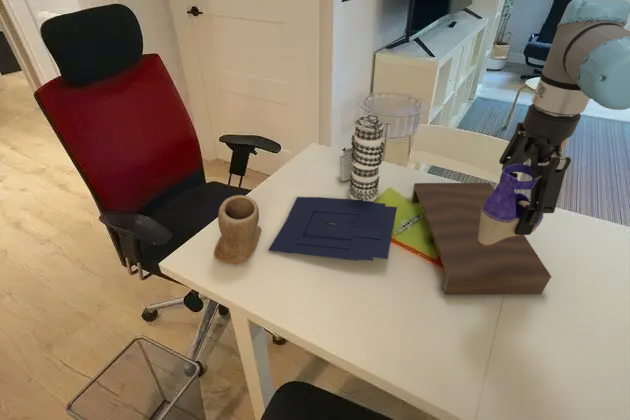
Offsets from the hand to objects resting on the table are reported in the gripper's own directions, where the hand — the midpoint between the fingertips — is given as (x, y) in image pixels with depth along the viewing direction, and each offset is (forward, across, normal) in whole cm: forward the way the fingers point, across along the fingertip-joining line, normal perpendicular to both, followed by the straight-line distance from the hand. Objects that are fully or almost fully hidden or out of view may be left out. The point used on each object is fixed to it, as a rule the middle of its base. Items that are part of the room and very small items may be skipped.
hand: (510, 215), depth 73 cm
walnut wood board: (+21, -15, +1) cm, 26 cm away
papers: (+21, -18, -33) cm, 43 cm away
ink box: (+21, -46, -25) cm, 57 cm away
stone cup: (+21, -13, -58) cm, 63 cm away
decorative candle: (+21, -36, -24) cm, 48 cm away
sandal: (+3, 0, 0) cm, 3 cm away
